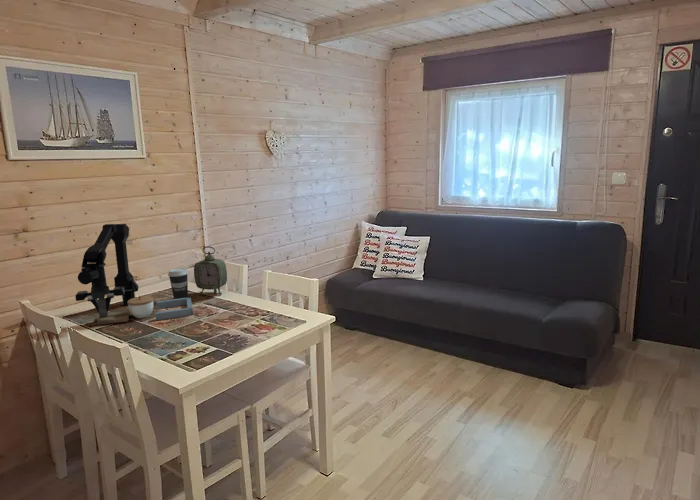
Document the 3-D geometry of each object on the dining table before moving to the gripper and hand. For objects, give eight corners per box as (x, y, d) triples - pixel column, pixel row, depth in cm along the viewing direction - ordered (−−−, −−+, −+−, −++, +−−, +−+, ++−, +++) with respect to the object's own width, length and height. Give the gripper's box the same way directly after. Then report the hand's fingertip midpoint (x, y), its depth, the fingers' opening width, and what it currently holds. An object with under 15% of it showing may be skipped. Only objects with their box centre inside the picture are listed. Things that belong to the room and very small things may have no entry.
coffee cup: (166, 301, 235) (163, 272, 232) (178, 295, 244) (175, 267, 241) (183, 302, 232) (179, 272, 229) (194, 296, 241) (191, 267, 238)
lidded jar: (159, 311, 219) (157, 292, 217) (147, 320, 209) (145, 299, 207) (137, 311, 220) (134, 292, 218) (124, 320, 210) (121, 299, 208)
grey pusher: (101, 315, 214) (98, 295, 212) (130, 312, 218) (128, 293, 216) (97, 324, 203) (94, 303, 201) (127, 321, 207) (125, 300, 205)
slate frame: (157, 307, 225) (156, 301, 225) (191, 302, 231) (190, 297, 230) (156, 320, 208) (155, 313, 207) (193, 314, 213) (192, 308, 213)
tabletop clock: (196, 295, 242) (191, 247, 237) (205, 290, 251) (200, 244, 246) (221, 296, 239) (217, 248, 234) (230, 291, 248) (226, 244, 242)
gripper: (70, 285, 195) (76, 321, 198) (119, 279, 201) (125, 314, 204) (75, 278, 205) (81, 313, 208) (122, 273, 211) (127, 306, 215)
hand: (103, 312), depth 209 cm, fingers closed on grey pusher, 3 cm apart
